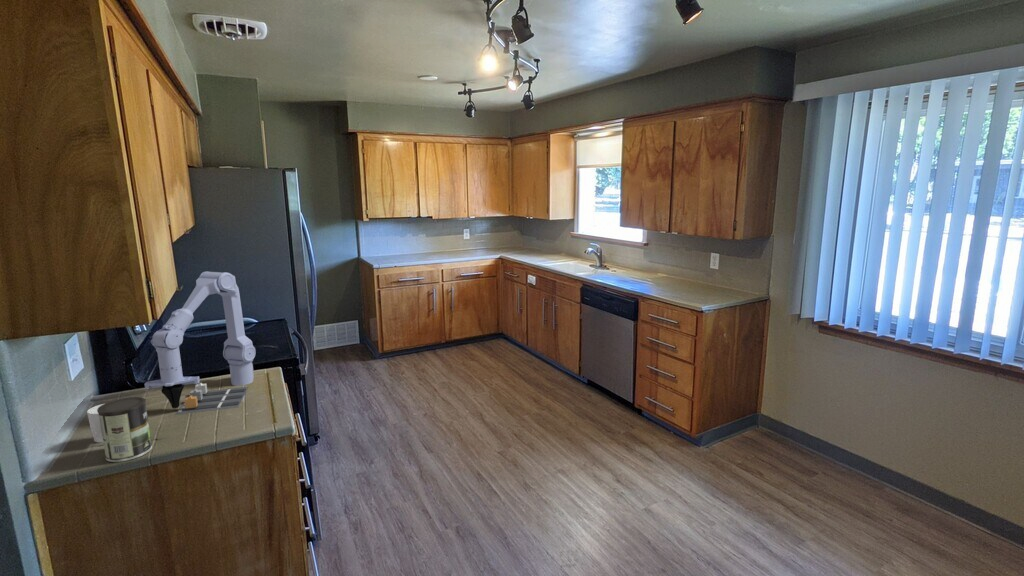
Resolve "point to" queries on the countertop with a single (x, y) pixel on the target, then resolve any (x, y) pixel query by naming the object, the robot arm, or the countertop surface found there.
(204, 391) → the cube with tab
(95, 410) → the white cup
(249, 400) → the countertop surface
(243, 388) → the control board
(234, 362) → the robot arm
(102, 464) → the countertop surface
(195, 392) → the cube with peg
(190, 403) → the orange slider knob
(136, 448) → the coffee can
